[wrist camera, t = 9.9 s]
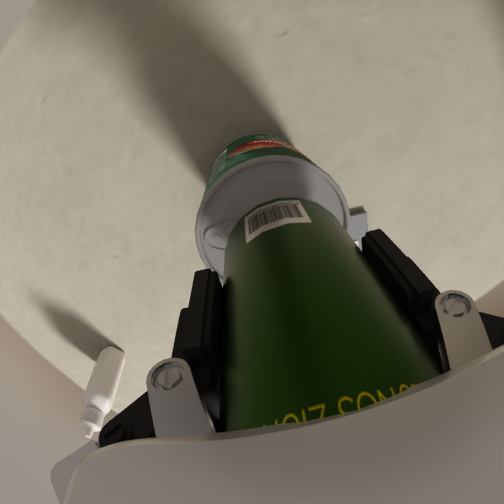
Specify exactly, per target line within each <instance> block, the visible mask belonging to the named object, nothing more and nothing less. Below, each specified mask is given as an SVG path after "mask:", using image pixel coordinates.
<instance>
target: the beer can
mask: <svg viewBox="0 0 504 504" xmlns="http://www.w3.org/2000/svg"><path fill="white" fill-rule="evenodd" d="M439 375H442V372H441V370H440V369H439V367H438V365H437V363H436V362H435V360H434V358H433V357H432V355H431V353H430V352H429V350H428V348H427V347H426V345H425V344H424V342H423V340H422V339H421V337H420V336H419V334H418V332H417V331H416V329H415V328H414V326H413V325H412V323H411V321H410V320H409V318H408V317H407V315H406V314H405V312H404V311H403V309H402V308H401V306H400V305H399V303H398V302H397V300H396V299H395V297H394V296H393V294H392V293H391V291H390V290H389V289H388V287H387V286H386V284H385V283H384V281H383V280H382V279H381V277H380V276H379V274H378V273H377V272H376V270H375V269H374V267H373V266H372V265H371V263H370V262H369V261H368V259H367V258H366V256H365V255H364V254H363V252H362V251H361V250H360V248H359V247H358V246H357V244H356V243H355V242H354V240H353V239H352V238H351V236H350V235H349V234H348V233H347V231H346V230H345V229H344V227H343V226H342V225H341V224H340V222H339V221H338V220H337V218H336V217H335V216H334V215H333V214H332V213H331V212H330V211H328V210H327V209H326V208H324V207H323V206H321V205H320V204H319V203H317V202H313V201H310V200H306V199H303V198H299V197H290V198H276V199H273V200H270V201H267V202H265V203H262V204H259V205H257V206H255V207H254V208H253V209H251V210H250V211H249V212H247V213H246V214H245V215H243V216H242V217H241V218H240V219H239V221H238V222H237V224H236V225H235V226H234V228H233V229H232V231H231V232H230V234H229V237H228V241H227V245H226V248H225V255H224V275H223V298H222V324H221V356H220V402H219V433H220V432H229V431H237V430H245V429H252V428H258V427H264V426H270V425H276V424H284V423H296V422H304V421H310V420H315V419H320V418H325V417H329V416H334V415H338V414H343V413H347V412H351V411H355V410H358V409H361V408H364V407H367V406H369V405H372V404H374V403H377V402H379V401H382V400H384V399H387V398H389V397H392V396H394V395H396V394H399V393H401V392H403V391H405V390H407V389H408V388H410V387H412V386H415V385H418V384H420V383H423V382H425V381H427V380H430V379H432V378H435V377H437V376H439Z"/></svg>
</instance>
